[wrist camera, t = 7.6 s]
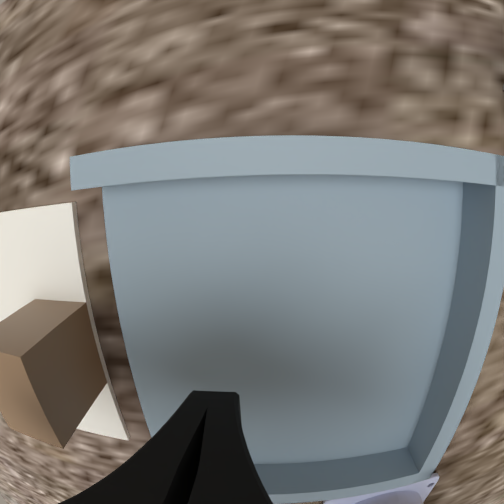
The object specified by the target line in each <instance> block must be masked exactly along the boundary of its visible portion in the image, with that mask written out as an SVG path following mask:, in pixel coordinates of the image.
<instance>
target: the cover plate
mask: <svg viewBox="0 0 504 504" xmlns="http://www.w3.org/2000/svg"><path fill="white" fill-rule="evenodd" d="M0 411H1V413H2V415H3V417H4V419H5V420H6V422H7V424H8V426H9V427H10V428H11V429H13V430H15V431H18V432H20V433H22V434H25V435H27V436H30V437H32V438H35V439H37V440H40V441H43V442H45V443H48V444H51V445H54V446H57V447H60V448H64V447H65V445H66V444H67V442H68V441H69V439H70V438H71V436H72V434H73V433H74V431H75V430H76V429H80V430H84V431H87V432H92V433H96V434H100V435H104V436H109V437H114V438H118V439H124V440H129V438H130V435H129V432H128V430H127V427H126V425H125V422H124V419H123V416H122V414H121V411H120V408H119V405H118V402H117V399H116V396H115V393H114V390H113V387H112V384H111V381H110V378H109V374H108V371H107V367H106V364H105V360H104V357H103V353H102V350H101V346H100V342H99V338H98V334H97V330H96V326H95V321H94V317H93V312H92V308H91V303H90V298H89V293H88V288H87V282H86V276H85V271H84V264H83V258H82V251H81V244H80V236H79V227H78V218H77V207H76V202H70V203H62V204H54V205H46V206H39V207H32V208H25V209H18V210H12V211H6V212H0Z"/></svg>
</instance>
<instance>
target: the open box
mask: <svg viewBox="0 0 504 504" xmlns="http://www.w3.org/2000/svg"><path fill="white" fill-rule="evenodd" d="M70 176H71V190H79V189H86V188H95V187H102V193H103V206H104V218H105V228H106V237H107V246H108V253H109V261H110V268H111V274H112V281H113V287H114V293H115V299H116V304H117V309H118V315H119V320H120V324H121V329H122V334H123V338H124V343H125V347H126V351H127V356H128V360H129V364H130V368H131V371H132V375H133V379H134V383H135V386H136V390H137V393H138V397H139V400H140V403H141V407H142V410H143V413H144V416H145V420H146V423H147V426H148V429H149V432H150V435H151V438H152V437H153V436H154V435H155V434H156V433H157V432H158V430H159V429H160V428H161V427H162V426H163V425H164V424H165V423H166V422H167V421H168V420H169V418H170V417H171V416H172V415H173V414H174V412H175V411H176V410H177V409H178V408H179V406H180V405H181V404H182V403H183V401H184V400H185V399H186V398H187V396H188V395H189V394H190V393H191V392H192V391H193V390H196V391H221V392H236V393H237V394H239V397H240V410H241V423H242V430H243V434H244V437H245V440H246V444H247V447H248V450H249V453H250V456H251V458H252V461H253V463H254V466H255V468H256V471H257V473H258V475H259V477H260V479H261V482H262V484H263V486H264V488H265V490H266V491H267V493H268V495H269V497H270V499H271V501H272V502H273V504H284V503H302V502H314V501H324V500H332V499H340V498H347V497H353V496H359V495H365V494H370V493H375V492H380V491H385V490H389V489H394V488H398V487H402V486H406V485H409V484H413V483H417V482H420V481H424V480H427V479H430V477H431V475H432V474H433V472H434V470H435V469H436V467H437V465H438V463H439V462H440V460H441V458H442V456H443V454H444V453H445V451H446V449H447V447H448V445H449V443H450V441H451V439H452V437H453V435H454V433H455V431H456V429H457V427H458V425H459V423H460V421H461V418H462V416H463V414H464V412H465V409H466V407H467V405H468V402H469V400H470V398H471V395H472V393H473V390H474V388H475V385H476V382H477V380H478V377H479V374H480V371H481V368H482V366H483V363H484V360H485V357H486V353H487V350H488V347H489V344H490V340H491V337H492V333H493V330H494V326H495V322H496V318H497V314H498V310H499V306H500V301H501V297H502V292H503V287H504V156H500V155H495V154H490V153H485V152H480V151H474V150H468V149H462V148H456V147H449V146H442V145H435V144H427V143H418V142H409V141H399V140H388V139H375V138H360V137H340V136H245V137H225V138H209V139H196V140H185V141H174V142H165V143H156V144H148V145H140V146H133V147H125V148H119V149H112V150H106V151H100V152H94V153H89V154H83V155H78V156H73V157H70Z"/></svg>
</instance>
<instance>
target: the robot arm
mask: <svg viewBox="0 0 504 504" xmlns="http://www.w3.org/2000/svg"><path fill="white" fill-rule="evenodd" d="M438 479H439V475H438V473H433V474H432V475H431V477H430V479H427V480H424V481H420V482H417V483H413V484H409V485H406V486H402V487H398V488H394V489H389V490H385V491H380V492H375V493H370V494H365V495H359V496H353V497H347V498H340V499H332V500H324V501H323V504H423V502H424V500H425V499H426V497H427V496H428V495H429V493H430V492H431V490H432V489H433V487H434V486H435V484H436V483H437V481H438ZM58 504H273V502H272V501H271V499H270V497H269V495H268V493H267V491H266V490H265V488H264V486H263V484H262V482H261V479H260V477H259V475H258V473H257V471H256V468H255V466H254V463H253V461H252V458H251V456H250V453H249V450H248V447H247V444H246V440H245V437H244V434H243V430H242V423H241V410H240V397H239V394H237V393H236V392H221V391H196V390H193V391H192V392H191V393H190V394H189V395H188V396H187V398H186V399H185V400H184V401H183V403H182V404H181V405H180V406H179V408H178V409H177V410H176V411H175V412H174V414H173V415H172V416H171V417H170V418H169V420H168V421H167V422H166V423H165V424H164V425H163V426H162V427H161V428H160V429H159V430H158V432H157V433H156V434H155V435H154V436H153V437H152V438H151V439H150V440H149V441H148V442H147V443H146V444H145V445H144V446H143V447H142V448H140V449H139V450H138V451H137V452H136V453H135V454H134V455H133V456H132V457H131V458H130V459H128V460H127V461H126V462H125V463H124V464H122V465H121V466H120V467H119V468H117V469H116V470H115V471H113V472H112V473H111V474H109V475H108V476H106V477H105V478H104V479H102V480H100V481H99V482H97V483H96V484H94V485H93V486H91V487H89V488H88V489H86V490H84V491H83V492H81V493H79V494H77V495H75V496H73V497H72V498H69V499H67V500H65V501H63V502H61V503H58Z"/></svg>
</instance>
